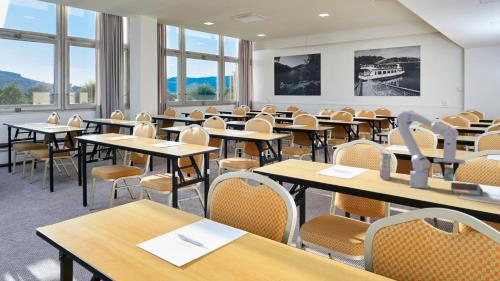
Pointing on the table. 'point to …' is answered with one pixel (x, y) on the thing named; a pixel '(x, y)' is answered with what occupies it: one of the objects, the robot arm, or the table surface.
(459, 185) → the tray
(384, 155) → the candy bar box
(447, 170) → the blue block
